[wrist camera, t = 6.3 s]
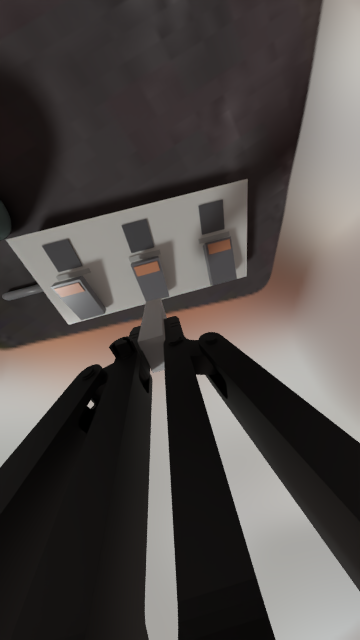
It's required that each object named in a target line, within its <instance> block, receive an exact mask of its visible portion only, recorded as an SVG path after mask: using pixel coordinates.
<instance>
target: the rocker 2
mask: <svg viewBox="0 0 360 640" xmlns="http://www.w3.org/2000/svg"><path fill="white" fill-rule="evenodd" d="M131 267H132V270H133V272H134V275H135V277H136V279H137V282H138V284H139V286H140V289H141V291H142V294H143V296H144V298H145V301H146V302H147V301H151V300H155V299H158V298H161V299H163V298H166V297H170V296H169V293H168V289H167V285H166V282H165V278H164V275H163V271H162V267H161V264H160V260H159V257H158V256H154V257H151V258H147V259H143V260H139V261H135V262H132V263H131Z"/></svg>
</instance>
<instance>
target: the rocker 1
mask: <svg viewBox="0 0 360 640" xmlns="http://www.w3.org/2000/svg"><path fill="white" fill-rule="evenodd" d="M50 288H51V289H52V290H53V291H54V292H55V293H56V294H57V295H58V296H59V297H60V298H61V299H62V300H63V301H64V302H65V304H66V305H67V306H68V307H69V308H70V309H71V310H72V311H73V312H74V313H75V314H76V315H77V316H78V317H79V318H80V319H81V320H84V319H88V318H91V317H95V316H99V315H103V314H105V312H106V308H105V306H104V305H103V303H102V302H101V301H100V299H99V298H98V296H97V295H96V294H95V292H94V291H93V289H92V288H91V287H90V285H89V284H88V282H87V281H86V279H85V278H84V277H83V275H82V276H79V277H75V278H71V279H67V280H63V281H60V282H56V283H54V284H53V285H52V286H51V287H50Z"/></svg>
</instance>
